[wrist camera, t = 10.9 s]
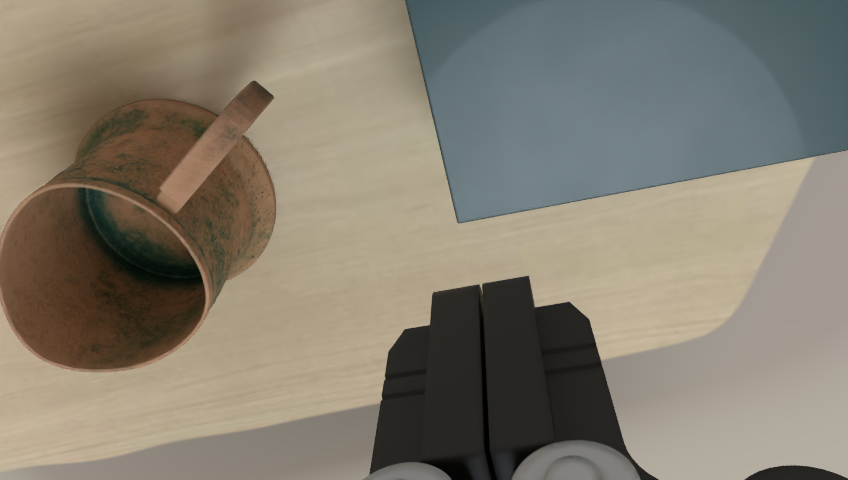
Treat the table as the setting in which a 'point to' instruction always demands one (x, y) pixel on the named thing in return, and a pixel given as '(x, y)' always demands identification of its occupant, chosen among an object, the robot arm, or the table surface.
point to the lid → (625, 93)
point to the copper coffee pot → (137, 234)
